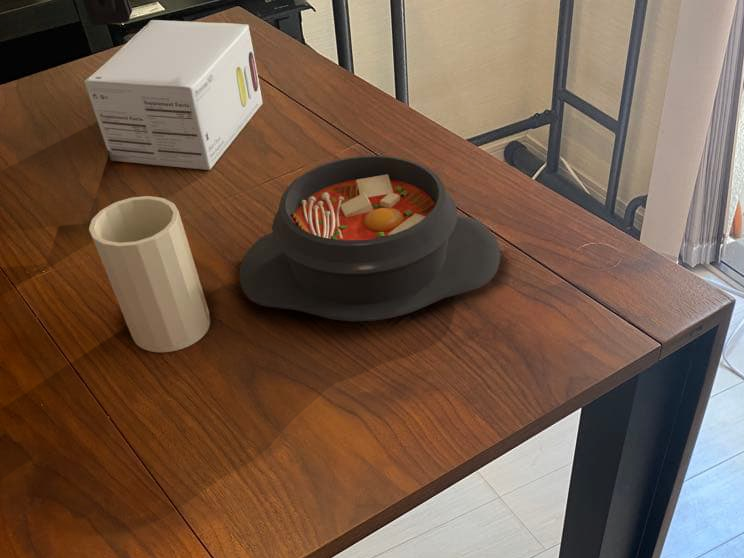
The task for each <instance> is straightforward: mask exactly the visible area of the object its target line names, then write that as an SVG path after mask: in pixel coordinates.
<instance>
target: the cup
mask: <svg viewBox="0 0 744 558" xmlns="http://www.w3.org/2000/svg"><path fill="white" fill-rule="evenodd" d="M88 231H89V234H90V237H91V239H92V241H93V245H94V246H95V249H96V251H97V254H98V256H99V259H100V262H101V264H102V266H103V269H104V271H105V274H106V277H107V279H108V282H109V284H110V287H111V288H112V292H113V294H114V296H115V299H116V301H117V304H118V306H119V308H120V311H121V314H122V315H123V319H124V321H125V324H126V326H127V329H128V331H129V333H130V336H131V338H132V340H133V342H134V344H135V345H137V346H138V347H139V348H141V349H142V350H144V351H147V352H152V353H172V352H177V351H181V350H183V349H186V348H188V347H190V346H192V345H194V344H196V343H197V342H199V341H200V340H201V339H202V338H203V337H204V336H205V335H206V334H207V332H209V329H210V326H211V316H210V310H209V307H208V304H207V300H206V297H205V294H204V291H203V287H202V284H201V280H200V278H199V273H198V271H197V267H196V264H195V261H194V257H193V254H192V250H191V247H190V244H189V240H188V238H187V234H186V231H185V228H184V225H183V220H182V218H181V214H180V211H179V210H178V208H177V206H176V204H175V203H174V202H172V201H170V200H168V199H166V198H164V197H158V196H151V195H143V196H132V197H129V198H125V199H122V200H118V201H115V202H113V203H112V204H110V205H108V206H105V207H103V208H102V209H101V210H100V211H99V212H97V213H96V214H95V216H94V217H93V218H92V219H91V221H90V224H89V227H88Z"/></svg>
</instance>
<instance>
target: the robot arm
mask: <svg viewBox="0 0 744 558" xmlns="http://www.w3.org/2000/svg"><path fill="white" fill-rule="evenodd" d="M82 3H83V5H84V8H85V11H86V14H87V16H88V20H89V22H90V24H91V25H92V26H105V25H115V24H123V23H128V22H129V21H130V18H131V15H132V13H133V8H132V7H133V6H132V4H131V1H130V0H82Z"/></svg>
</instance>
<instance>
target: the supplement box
mask: <svg viewBox="0 0 744 558" xmlns="http://www.w3.org/2000/svg"><path fill="white" fill-rule="evenodd" d="M258 74H259V73H258V69H257V64H256V59H255V53H254V47H253V41H252V37H251V32H250V26H249V24H247V23H246V24H244V23H232V22H231V23H230V22H203V21H185V20H164V19H163V20H161V19H151V20H150V21H148V23H146V25H145V26H143V28H141V29H139V31H138V32H137V33H135V35H134V36H133V37H132V38H131V39H130V40H129V41H128V42H127V43H125V44H124V45H123V46H122V48H120V49H119V50H118V51H117V52H116V53H114V55H112V56H111V57H110V58H109V59H108V61H106V62H105V63H104V64H103V65H102V66H101V67H99V69H97V70H96V71H95V72H93V74H92V75H90V76H89V77H87V78H86V79H85V80H84V81H83V82H84V85H85V88H86V91H87V94H88V97H89V100H90V103H91V106H92V109H93V112H94V114H95V118H96V120H97V123H98V126H99V130H100V132H101V136H102V139H103V142H104V145H105V147H106V151H108V152H109V153H108V157H109V160H110V161H111V162H122V163H131V164H140V165H141V164H142V165H150V166H151V165H152V166H162V167H173V168H183V169H184V168H185V169H194V170H204V171H211V170H212V168H213V167H214V166H215V164H216V163H217V162H218V160H219V159H220V158H221V157H222V155H223V154H224V153H225V152H226V150H227V149H228V148H229V146H231V144H232V143H233V141H235V139H236V138H237V137H238V135H239V134H240V133H241V131H242V130H243V129H244V128H245V126H246V125H247V124H248V123H249V121H250V120H251V119H252V118H253V116H254V115H255V114H256V113H257V112H258V110H259V109H260V108H261V106H262V105H263V104H264V103H263V97H262V92H261V86H260V81H259V75H258Z"/></svg>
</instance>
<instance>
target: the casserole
mask: <svg viewBox="0 0 744 558" xmlns="http://www.w3.org/2000/svg"><path fill="white" fill-rule="evenodd" d="M455 202H456V201H455V200H454V199H453V198H452V196H451V195H450V193H449V192H448V191H447V190H446V188H445V186H444V183H443V181H442V180H441V178H440V177H439V176H438V175H437V174H436V173H435V172H434V171H432V170H431V169H430V168H429V167H426V166H425V165H423V164H421V163H419V162H417V161H413V160H410V159H406V158H401V157H396V156H392V155H391V156H389V155H359V156H352V157H345V158H340V159H336V160H333V161H329V162H326V163H323V164H321V165H318V166H316V167H313V168H311V169H310V170H308V171H305V172H304V173H303V174H301V175H299V176H297V178H295V179H294V180H293V181H292V182H291V183H290V184H289V185H288V186H287V187H286V189H285V190H284V192H283V193H282V195H281V197H280V202H279V205H278V210H277V212H276V213H275V215H274V217H273V221H272V225H271V231H272V232H270V233H267V234H265V235H263V236H261V237H259V238H258V239H257V240H256V241H255V242H254V243H253V244H252V245H251V246H250V247H249V248H248V249H247V252H246V253H245V255H244V256H243V258H242V260H241V263H240V266H239V270H238V276H239V277H238V278H239V285H240V287H241V289H242V293H243V294H244V295H245V296H246V297H247V298H248V299H249V301H251V302H253V303H255V304H256V305H259V306H261V307H267V308H268V307H269V308H277V309H285V310H293V311H298V312H302V313H306V314H309V315H314V316H318V317H320V318H325V319H329V320H334V321H343V322H344V321H345V322H375V321H381V320H388V319H393V318H396V317H400V316H404V315H409V314H411V313H414V312H416V311H418V310H421V309H423V308H425V307H428V306H430V305H432V304H435V303H436V302H439V301H441V300H444V299H447V298H450V297H454V296H457V295H460V294H464V293H468V292H471V291H474V290H477V289H480V288H482V287H483V286H485V285H486V284H488V283H490V282H491V281H492V280H493V278H494V277H495V275H496V274H497V272H498V270H499V267H500V263H501V248H500V245H499V242H498V240H497V238H496V236H495V235H494V234H493V232H492V231H491V229H490V228H488V227H487V226H486V225H485V224H483V223H482V222H480V221H479V220H478V219H475V218H473V217H470V216H465V215H460V214H459V215H458V208H457V205H456V203H455Z"/></svg>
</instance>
